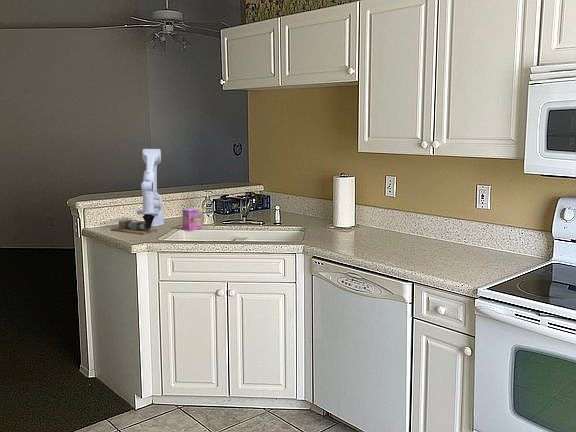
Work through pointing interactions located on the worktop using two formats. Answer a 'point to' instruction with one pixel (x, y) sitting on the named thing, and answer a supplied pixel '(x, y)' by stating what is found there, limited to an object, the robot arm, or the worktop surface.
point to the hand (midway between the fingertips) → (149, 228)
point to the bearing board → (131, 227)
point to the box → (192, 219)
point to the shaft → (138, 226)
